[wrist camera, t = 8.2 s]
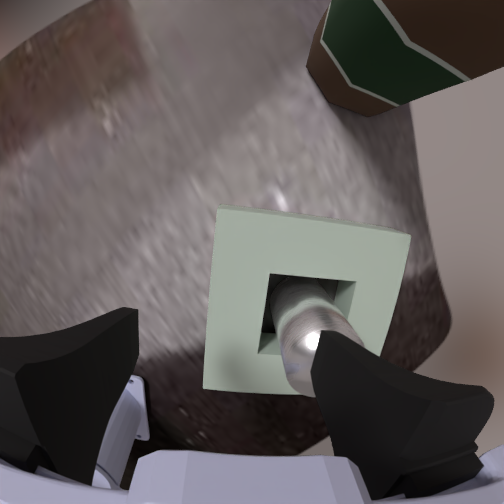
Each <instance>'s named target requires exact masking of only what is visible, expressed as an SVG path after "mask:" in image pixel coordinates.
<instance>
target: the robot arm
mask: <svg viewBox="0 0 504 504" xmlns="http://www.w3.org/2000/svg"><path fill="white" fill-rule="evenodd" d="M138 356H139V331H138V309H132V308H127V307H122V308H119V309H116V310H113V311H111V312H108V313H106V314H104V315H101V316H99V317H97V318H94V319H92V320H89V321H87V322H84V323H81V324H78V325H76V326H73V327H70V328H67V329H63V330H59V331H55V332H51V333H46V334H40V335H33V336H25V337H0V504H504V445H500V446H498V447H496V448H494V449H492V450H489V451H487V452H485V453H484V454H482V455H481V456H480V457H479V458H478V457H477V455H476V454H475V453H474V452H476V451H477V449H478V446H477V444H476V443H475V442H474V441H475V439H476V438H477V436H478V435H479V433H480V432H481V430H482V429H483V427H484V426H485V424H486V423H487V421H488V419H489V417H490V415H491V413H492V410H493V407H494V398H493V395H492V394H491V393H490V392H488V391H487V389H485V388H484V387H482V386H475V385H465V384H455V383H451V382H445V381H440V380H436V379H432V378H429V377H426V376H422V375H419V374H416V373H414V372H411V371H408V370H406V369H404V368H401V367H399V366H397V365H394V364H392V363H390V362H388V361H387V360H385V359H383V358H381V357H379V356H377V355H376V354H374V353H372V352H371V351H369V350H367V349H366V348H364V347H362V346H361V345H359V344H358V343H356V342H355V341H353V340H351V339H350V338H348V337H346V336H345V335H343V334H341V333H339V332H337V331H330V330H321V333H320V337H319V341H318V345H317V348H316V352H315V356H314V360H313V363H312V367H311V370H310V374H311V380H312V385H313V390H314V393H315V396H316V399H317V402H318V405H319V407H320V410H321V413H322V415H323V418H324V421H325V423H326V426H327V429H328V432H329V435H330V438H331V442H332V446H333V450H334V456H326V455H307V456H251V455H233V454H220V453H210V452H201V451H193V450H158V451H156V452H153V453H151V454H148V455H146V456H143V457H141V458H139V459H138V462H137V465H136V468H135V471H134V475H133V479H132V482H131V486H130V489H129V491H128V490H123V489H121V488H120V487H119V486H120V482H121V479H122V476H123V473H124V470H125V467H126V463H127V460H128V457H129V454H130V451H131V448H132V445H133V442H134V439H140V440H145V441H147V440H149V438H150V434H149V426H148V418H147V409H146V399H145V388H144V380H143V379H142V378H141V377H139V376H134V375H132V373H133V371H134V368H135V365H136V362H137V359H138ZM130 380H133V381H134V382H132V381H130Z"/></svg>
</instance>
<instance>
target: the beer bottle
mask: <svg viewBox="0 0 504 504" xmlns="http://www.w3.org/2000/svg"><path fill="white" fill-rule="evenodd" d="M306 67H307V69H308V70H309V72H310V73H311V75H312V76H313V78H314V79H315V81H316V83H317V84H318V86H319V87H320V89H321V90H322V92H323V94H324V95H325V97H326V98H327V100H328V102H330V103H333V104H335V105H338V106H341V107H343V108H346V109H349V110H351V111H354V112H356V113H359V114H361V115H364V116H366V117H370V116H374V115H377V114H380V113H383V112H385V111H388V110H390V109H393V108H395V107H398V106H400V105H403V104H405V103H408V102H410V101H413V100H415V99H418V98H421V97H423V96H426V95H429V94H432V93H434V92H437V91H440V90H443V89H445V88H448V87H451V86H454V85H457V84H460V83H463V82H466V81H469V80H472V79H474V78H477V77H479V76H482V75H484V74H486V73H489V72H491V71H494V70H496V69H499V68H501V67H504V0H332V1H331V3H330V5H329V7H328V8H327V10H326V12H325V13H324V15H323V17H322V19H321V20H320V22H319V25H318V27H317V29H316V32H315V34H314V38H313V42H312V45H311V49H310V53H309V57H308V60H307V64H306Z"/></svg>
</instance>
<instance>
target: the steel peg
mask: <svg viewBox="0 0 504 504" xmlns="http://www.w3.org/2000/svg"><path fill="white" fill-rule="evenodd" d="M270 309H271V314H272V318H273V322H274V326H275V331H276V335H277V339H278V344H279V348H280V352H281V356H282V361H283V365H284V369H285V374H286V378H287V380H288V382H289V384H290V386H291V387H292V388H293V389H294V390H295V391H297V392H298V393H300V394H302V395H305V396H309V397H316V396H315V393H314V390H313V385H312V380H311V374H310V370H311V367H312V363H313V360H314V356H315V352H316V348H317V345H318V341H319V337H320V333H321V330H330V331H337V332H339V333H341V334H343V335H345V336H346V337H348V338H350V339H351V340H353V341H355V342H356V343H358V344H359V345H361V346H362V347H364V348H365V345H364V343H363V342H362V340H361V339H360V337H359V336H358V334H357V333H356V332H355V330H354V329H353V328H352V326H351V325H350V323H349V322H348V321H347V319H346V318H345V317H344V315H343V314H342V313H341V311H340V310H339V309H338V307H337V306H336V304H335V303H334V302H333V300H332V299H331V298H330V296H329V295H328V294H327V292H326V291H325V290H324V288H323V287H322V286H321V284H320V283H319V282H318V281H317V280H315V279H314V278H312V277H304V276H291V277H288V278H286V279H284V280H283V281H281V282H280V283H279V284H278V285H277V286H276V287H275V289H274V290H273V292H272V294H271V297H270Z"/></svg>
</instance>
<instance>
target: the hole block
mask: <svg viewBox="0 0 504 504" xmlns="http://www.w3.org/2000/svg"><path fill="white" fill-rule="evenodd" d="M410 240H411V235H409V234H407V233H404V232H401V231H398V230H395V229H392V228H389V227H383V226H377V225H371V224H365V223H358V222H352V221H345V220H339V219H332V218H325V217H318V216H311V215H304V214H297V213H289V212H281V211H274V210H266V209H257V208H249V207H240V206H232V205H222V204H220V206H219V207H218V208H217V218H216V227H215V237H214V247H213V257H212V268H211V279H210V291H209V303H208V316H207V329H206V344H205V359H204V376H203V389H212V390H222V391H234V392H247V393H265V394H300V393H298V392H297V391H295V390H294V389H293V388H292V387H291V386H290V384H289V382H288V380H287V378H286V374H285V369H284V365H283V361H282V356H281V352H280V348H279V344H278V339H277V335H276V334H275V333H262V332H261V328H262V321H263V315H264V308H265V302H266V295H267V288H268V281H269V274H270V273H273V274H283V275H293V276H304V277H314V278H325V279H336V280H339V281H338V286H337V291H336V295H335V300H334V303H335V304H336V306H337V307H338V309H339V310H340V311H341V313H342V314H343V315H344V317H345V318H346V319H347V321H348V322H349V323H350V325H351V326H352V328H353V329H354V330H355V332H356V333H357V334H358V336H359V337H360V339H361V340H362V342H363V343H364V345H365V348H366V349H367V350H369V351H371V352H372V353H374V354H376V355H377V356H380V353H381V350H382V347H383V344H384V341H385V338H386V335H387V332H388V329H389V325H390V322H391V319H392V315H393V312H394V308H395V304H396V301H397V297H398V293H399V289H400V285H401V281H402V277H403V273H404V269H405V264H406V260H407V255H408V250H409V246H410Z"/></svg>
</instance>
